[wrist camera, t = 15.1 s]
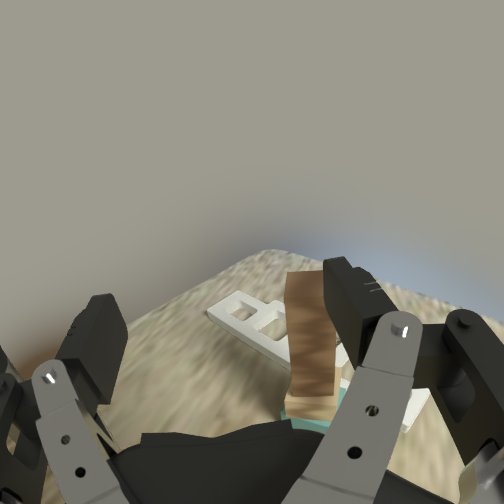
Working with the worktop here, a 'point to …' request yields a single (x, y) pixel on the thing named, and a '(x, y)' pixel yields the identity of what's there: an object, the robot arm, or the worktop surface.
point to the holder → (285, 340)
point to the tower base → (313, 424)
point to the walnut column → (309, 335)
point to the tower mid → (313, 403)
